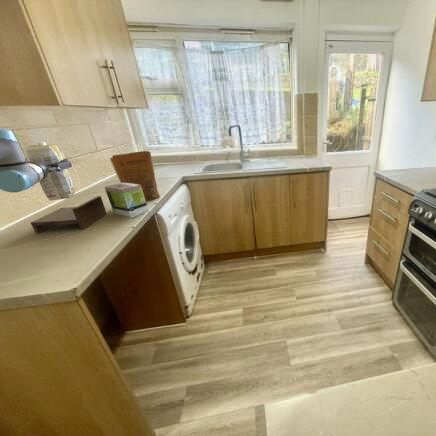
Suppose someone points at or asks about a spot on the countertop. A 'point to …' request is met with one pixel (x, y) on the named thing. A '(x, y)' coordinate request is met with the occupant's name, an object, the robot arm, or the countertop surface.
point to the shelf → (73, 215)
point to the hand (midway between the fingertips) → (52, 163)
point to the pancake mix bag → (137, 171)
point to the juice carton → (57, 180)
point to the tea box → (127, 199)
